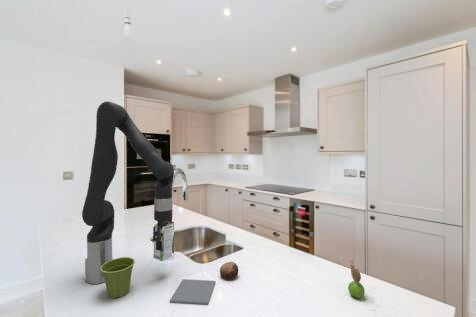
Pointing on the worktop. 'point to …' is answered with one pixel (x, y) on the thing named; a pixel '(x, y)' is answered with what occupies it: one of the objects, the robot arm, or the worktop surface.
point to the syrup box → (164, 243)
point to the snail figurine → (356, 283)
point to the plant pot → (118, 276)
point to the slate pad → (193, 292)
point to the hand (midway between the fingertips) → (163, 245)
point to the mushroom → (229, 270)
